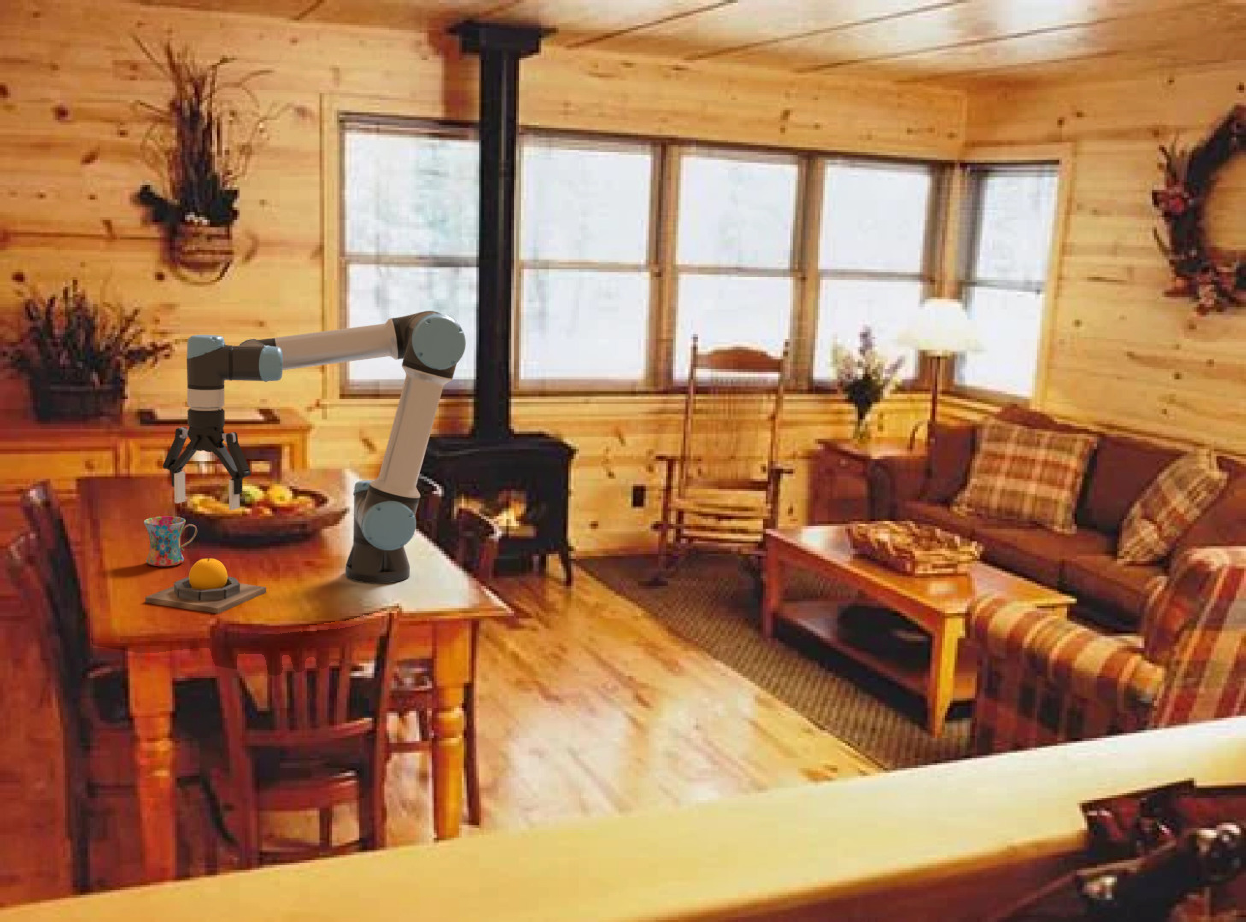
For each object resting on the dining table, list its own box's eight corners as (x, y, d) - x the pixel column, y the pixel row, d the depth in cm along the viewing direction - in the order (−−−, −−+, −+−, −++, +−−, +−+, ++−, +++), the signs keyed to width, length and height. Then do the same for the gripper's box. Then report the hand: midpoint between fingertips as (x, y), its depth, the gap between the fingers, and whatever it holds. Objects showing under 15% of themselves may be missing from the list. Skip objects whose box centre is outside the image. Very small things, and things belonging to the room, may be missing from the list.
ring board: (266, 592, 277) (266, 578, 276) (218, 613, 260) (218, 598, 259) (196, 582, 282) (196, 568, 281) (145, 602, 265) (145, 588, 264)
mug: (147, 570, 289) (147, 526, 288) (141, 560, 297) (141, 517, 295) (201, 566, 295) (200, 522, 293) (193, 556, 303) (193, 514, 301)
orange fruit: (181, 593, 268) (180, 560, 267) (205, 584, 276) (204, 552, 274) (211, 598, 266) (211, 564, 264) (235, 589, 273) (234, 556, 272)
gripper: (267, 410, 264) (267, 508, 267) (167, 401, 271) (168, 496, 274) (247, 414, 257) (247, 514, 260) (144, 404, 263) (146, 502, 267)
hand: (206, 505), depth 267 cm, fingers open, 13 cm apart
